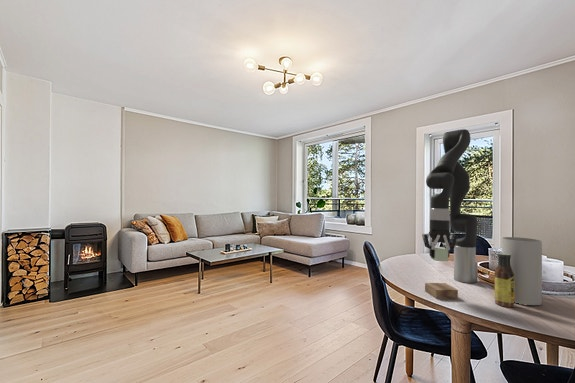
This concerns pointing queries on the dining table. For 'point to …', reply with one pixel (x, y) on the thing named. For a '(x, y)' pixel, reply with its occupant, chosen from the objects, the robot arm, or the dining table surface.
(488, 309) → the dining table surface
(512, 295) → the sauce bottle
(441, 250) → the green cube
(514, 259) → the cylinder vase
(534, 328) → the dining table surface
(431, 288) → the walnut base
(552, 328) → the dining table surface
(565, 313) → the dining table surface
